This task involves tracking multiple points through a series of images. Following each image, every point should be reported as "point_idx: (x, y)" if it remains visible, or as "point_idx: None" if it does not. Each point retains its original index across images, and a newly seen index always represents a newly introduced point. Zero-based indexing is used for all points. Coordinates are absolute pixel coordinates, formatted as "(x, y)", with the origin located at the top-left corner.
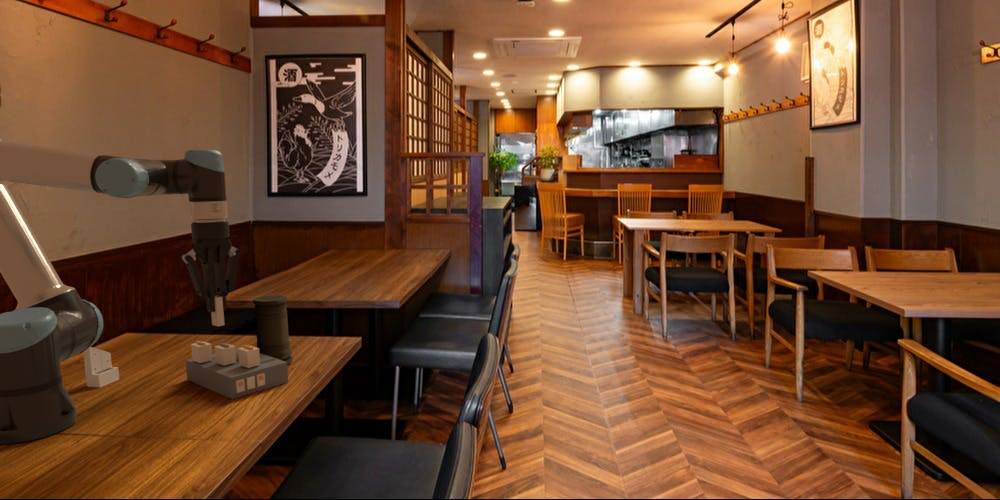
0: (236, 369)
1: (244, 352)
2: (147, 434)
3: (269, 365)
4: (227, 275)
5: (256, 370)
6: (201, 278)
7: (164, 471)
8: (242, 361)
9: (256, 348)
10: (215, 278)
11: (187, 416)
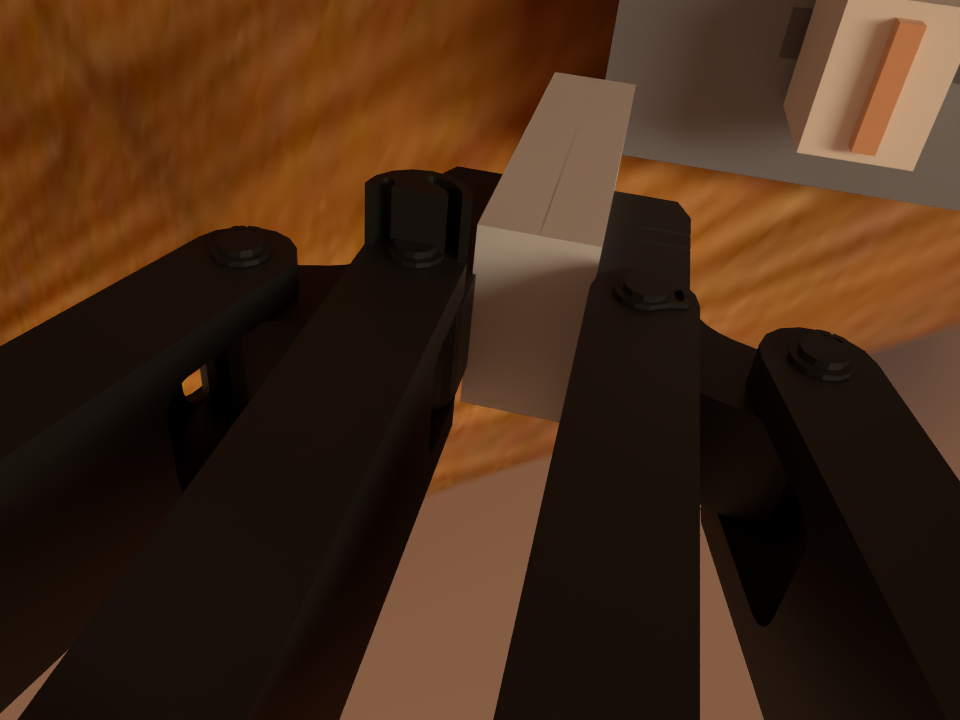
0: (744, 22)
1: (809, 102)
2: (157, 132)
3: (915, 168)
4: (848, 670)
5: (780, 177)
6: (63, 641)
7: None
8: (814, 30)
9: (903, 151)
10: (544, 507)
11: (345, 102)
